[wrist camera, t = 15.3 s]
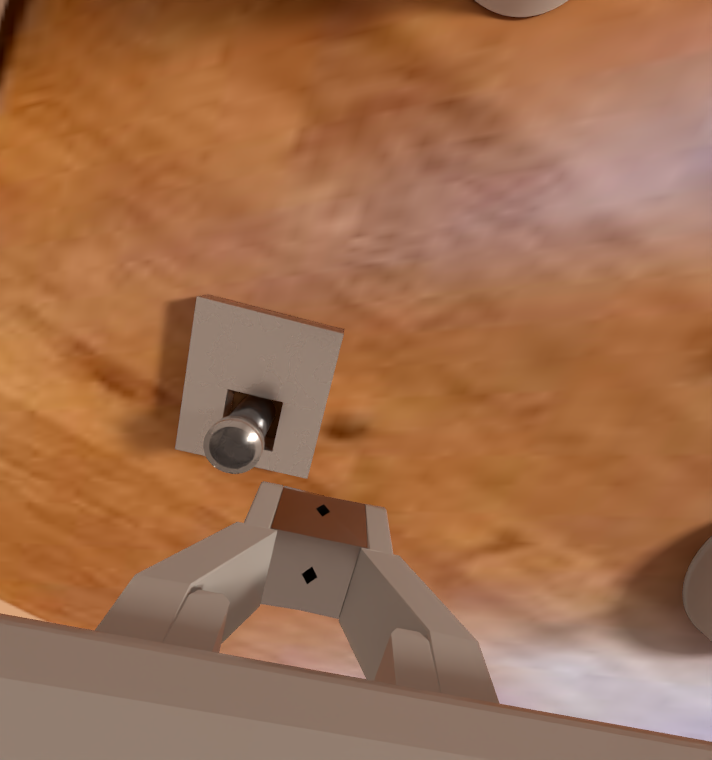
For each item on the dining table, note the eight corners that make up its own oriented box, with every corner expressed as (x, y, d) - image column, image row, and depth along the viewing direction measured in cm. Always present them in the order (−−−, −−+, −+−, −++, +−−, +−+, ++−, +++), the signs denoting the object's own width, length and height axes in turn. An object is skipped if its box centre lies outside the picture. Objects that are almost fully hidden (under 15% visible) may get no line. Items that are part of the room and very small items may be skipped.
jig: (208, 294, 38) (196, 296, 35) (344, 329, 39) (343, 333, 36) (187, 436, 42) (175, 449, 39) (310, 464, 43) (307, 478, 40)
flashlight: (238, 384, 40) (207, 415, 32) (284, 395, 41) (266, 428, 32) (231, 426, 42) (199, 466, 33) (275, 436, 42) (255, 479, 34)
